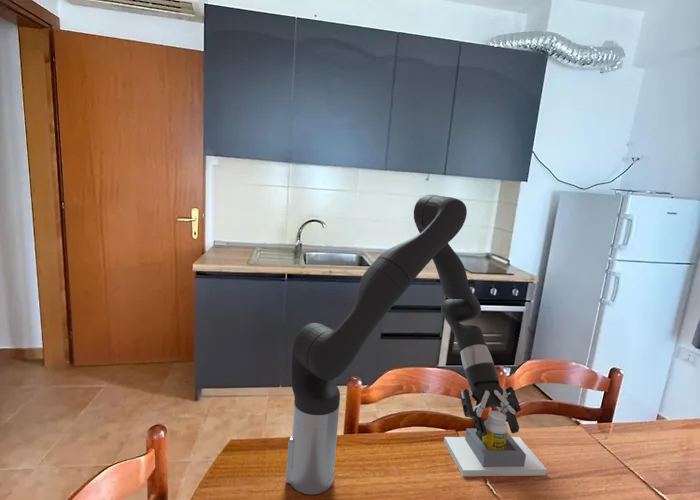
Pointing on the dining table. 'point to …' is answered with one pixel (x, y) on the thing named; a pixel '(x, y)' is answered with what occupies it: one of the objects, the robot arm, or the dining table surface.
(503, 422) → the supplement bottle
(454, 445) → the collar board
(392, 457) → the dining table surface
